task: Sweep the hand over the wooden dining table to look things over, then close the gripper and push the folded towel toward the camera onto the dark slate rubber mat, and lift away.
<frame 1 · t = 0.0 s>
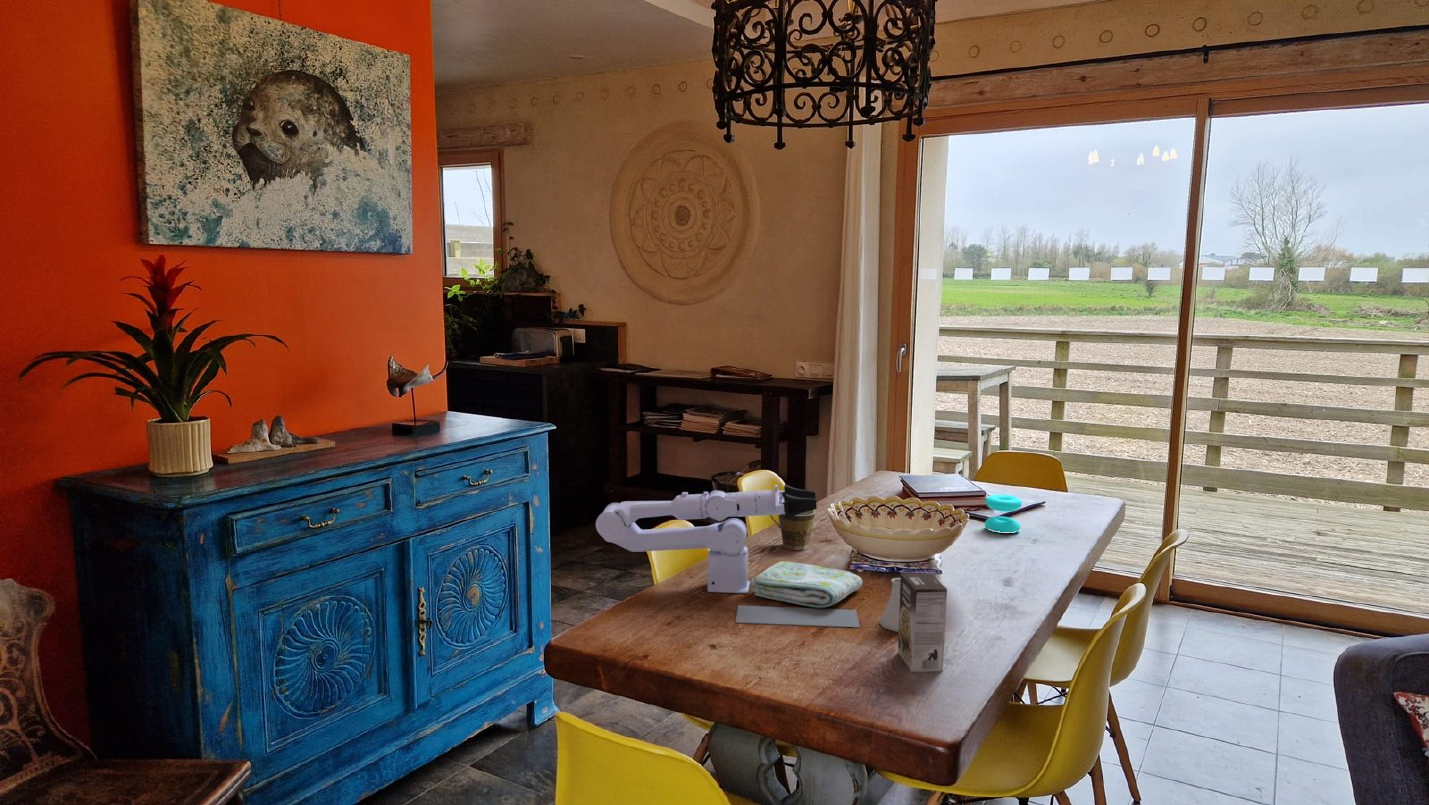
hand: (815, 500, 208), 22 cm above the table, tool horizontal, fingers open, 7 cm apart
donuts: (1002, 531, 265), on the table
towel: (805, 594, 209), on the table, touching slate mat
ceramic cup: (790, 546, 247), on the table
flask: (897, 627, 190), on the table
slate mat: (797, 616, 194), on the table
coffee box: (919, 663, 172), on the table
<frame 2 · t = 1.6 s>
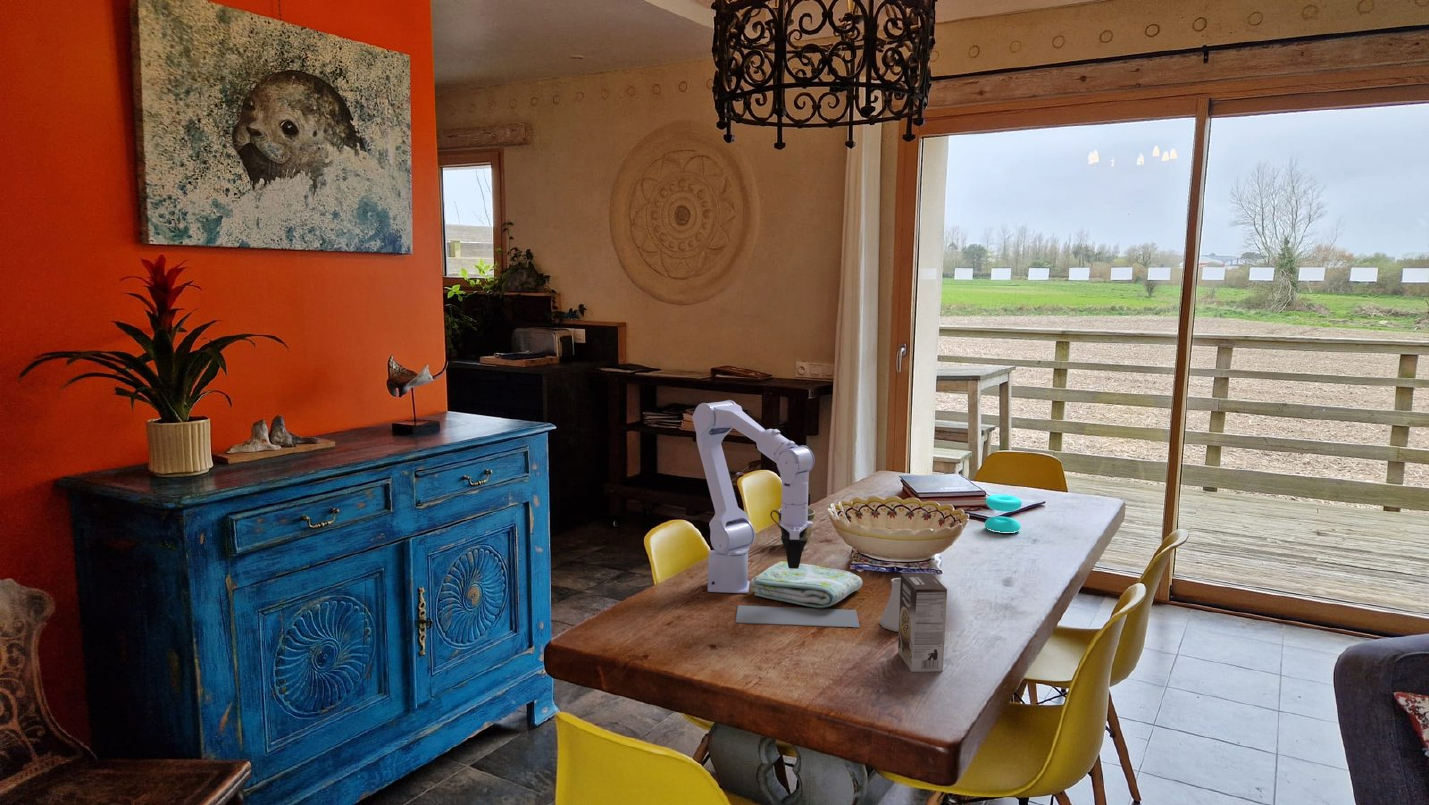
hand: (793, 562, 198), 10 cm above the table, tool pointing down, fingers open, 7 cm apart
nothing on the table moved.
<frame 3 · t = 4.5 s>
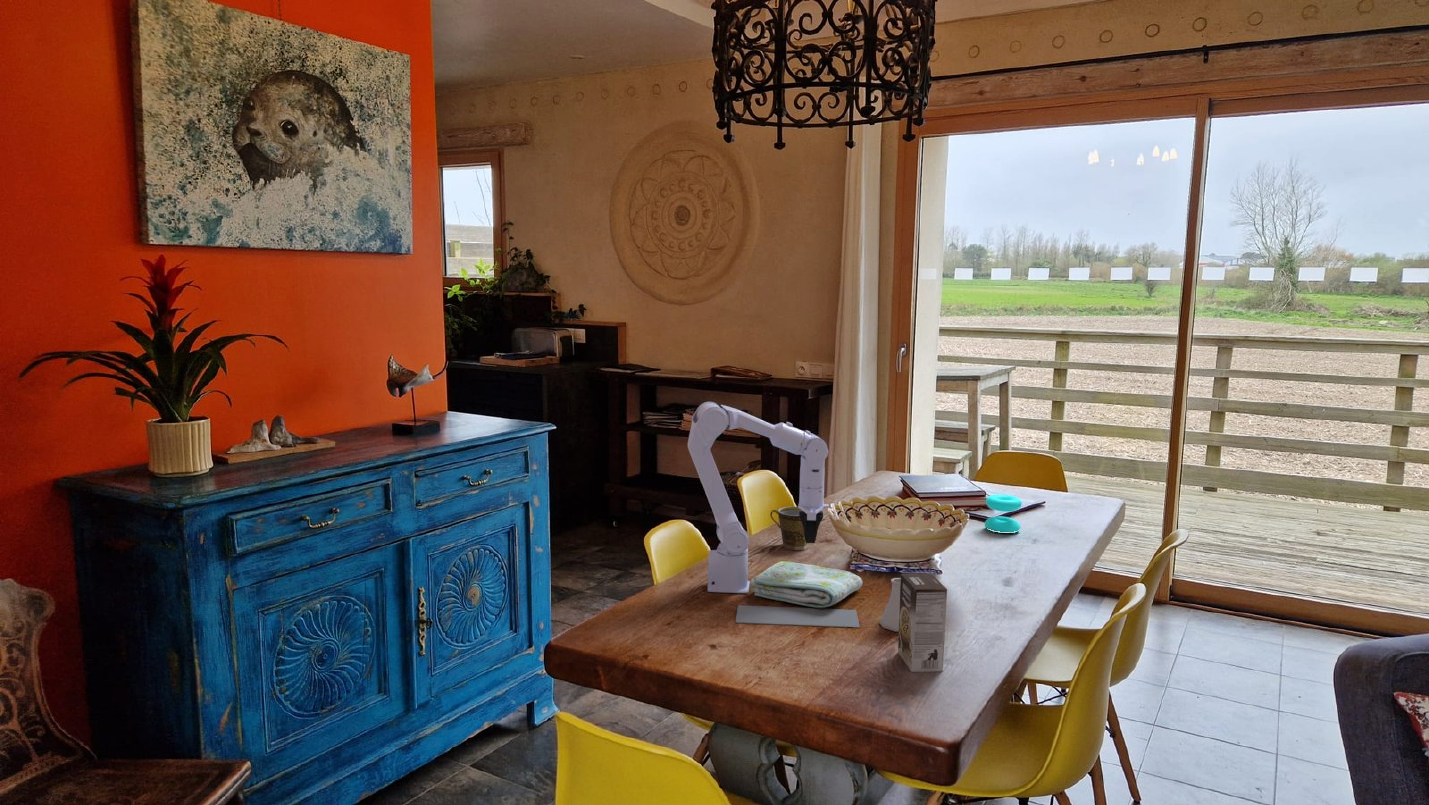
hand: (810, 542, 214), 10 cm above the table, tool pointing down, fingers closed
nothing on the table moved.
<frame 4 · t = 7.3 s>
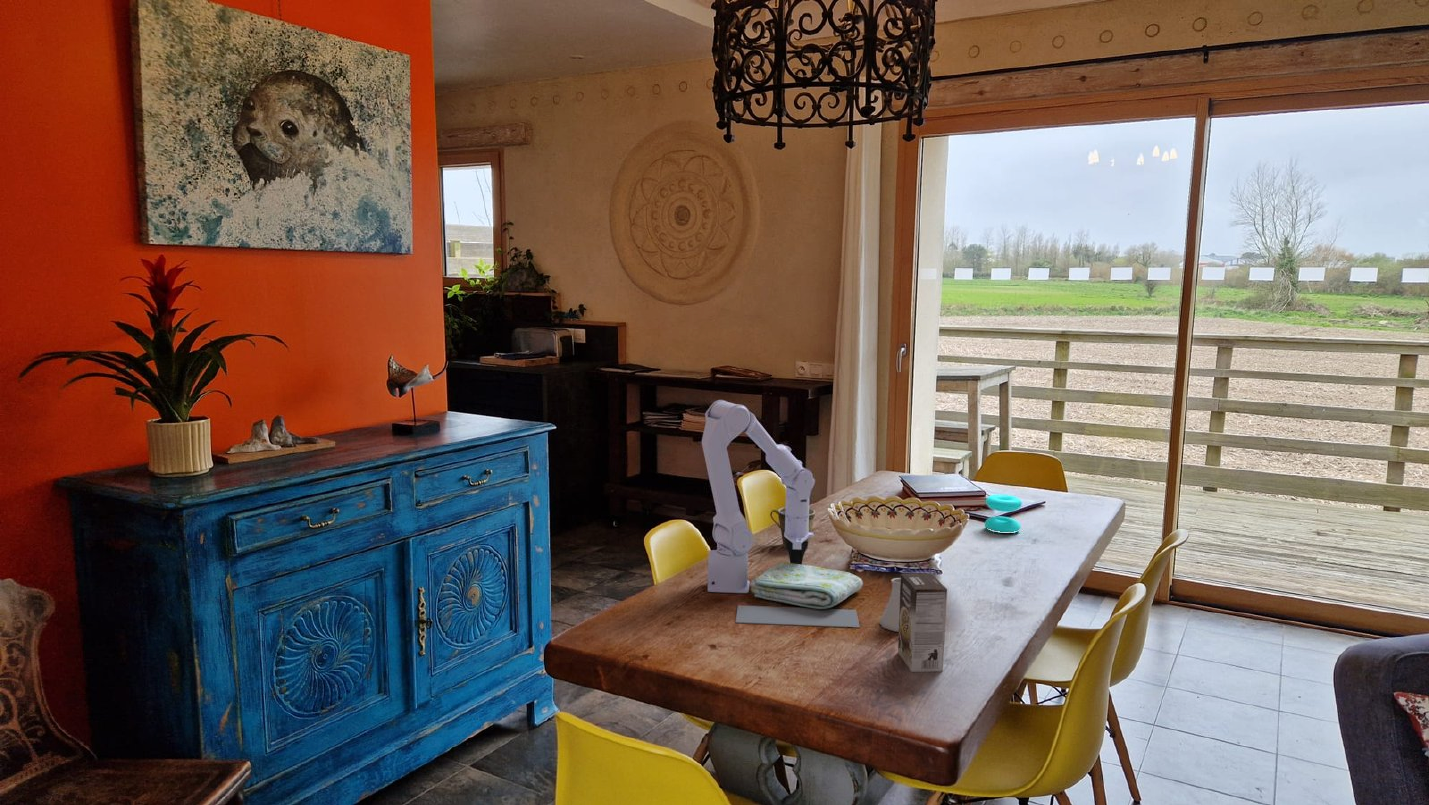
hand: (795, 569, 220), 2 cm above the table, tool pointing down, fingers closed
towel: (806, 595, 208), on the table, touching gripper
everything else where it was.
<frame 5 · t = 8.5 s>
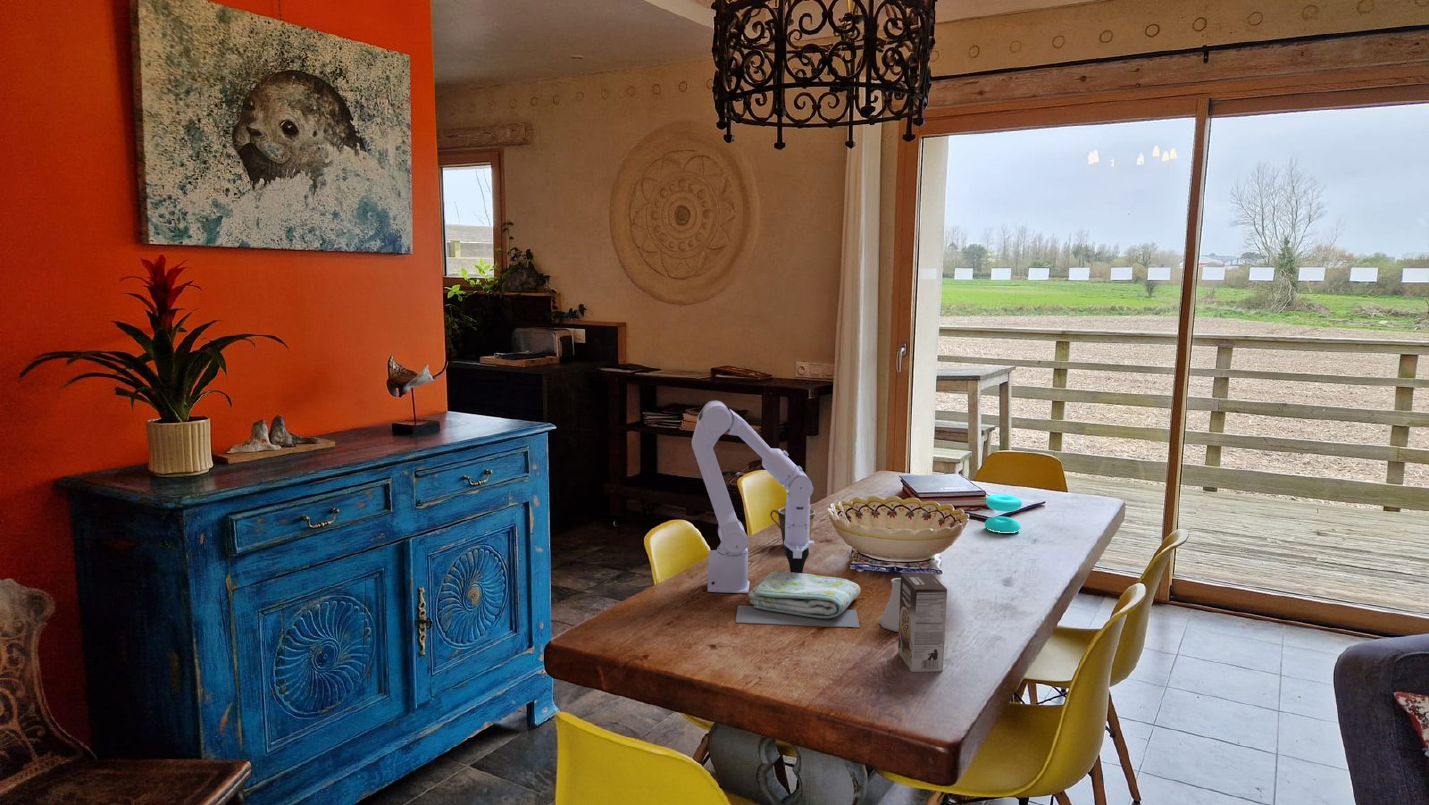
hand: (796, 579, 213), 2 cm above the table, tool pointing down, fingers closed
towel: (804, 604, 202), on the table, touching gripper, slate mat
everything else where it was.
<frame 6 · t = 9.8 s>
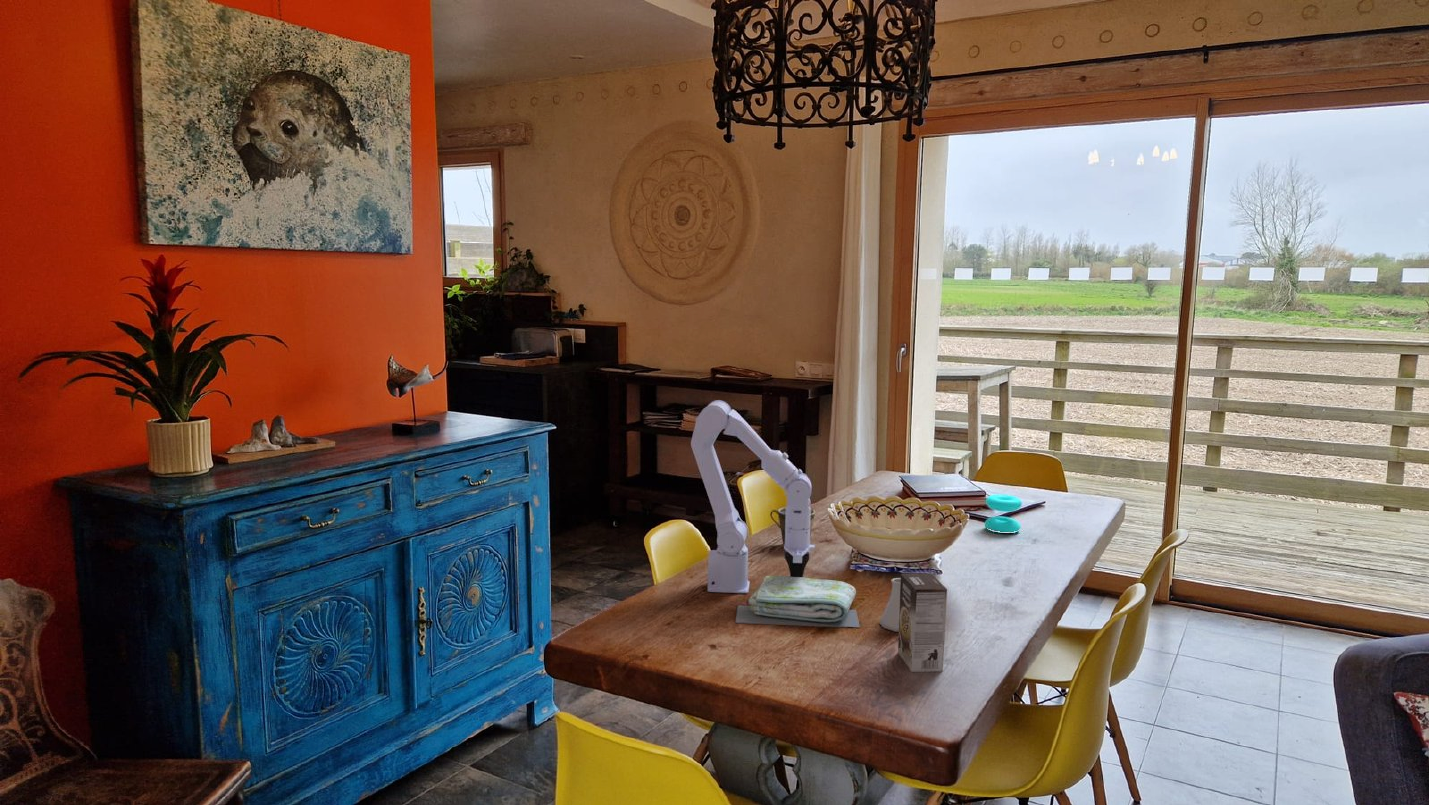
hand: (796, 583, 210), 2 cm above the table, tool pointing down, fingers closed
towel: (803, 608, 199), on the table, touching slate mat
everything else where it was.
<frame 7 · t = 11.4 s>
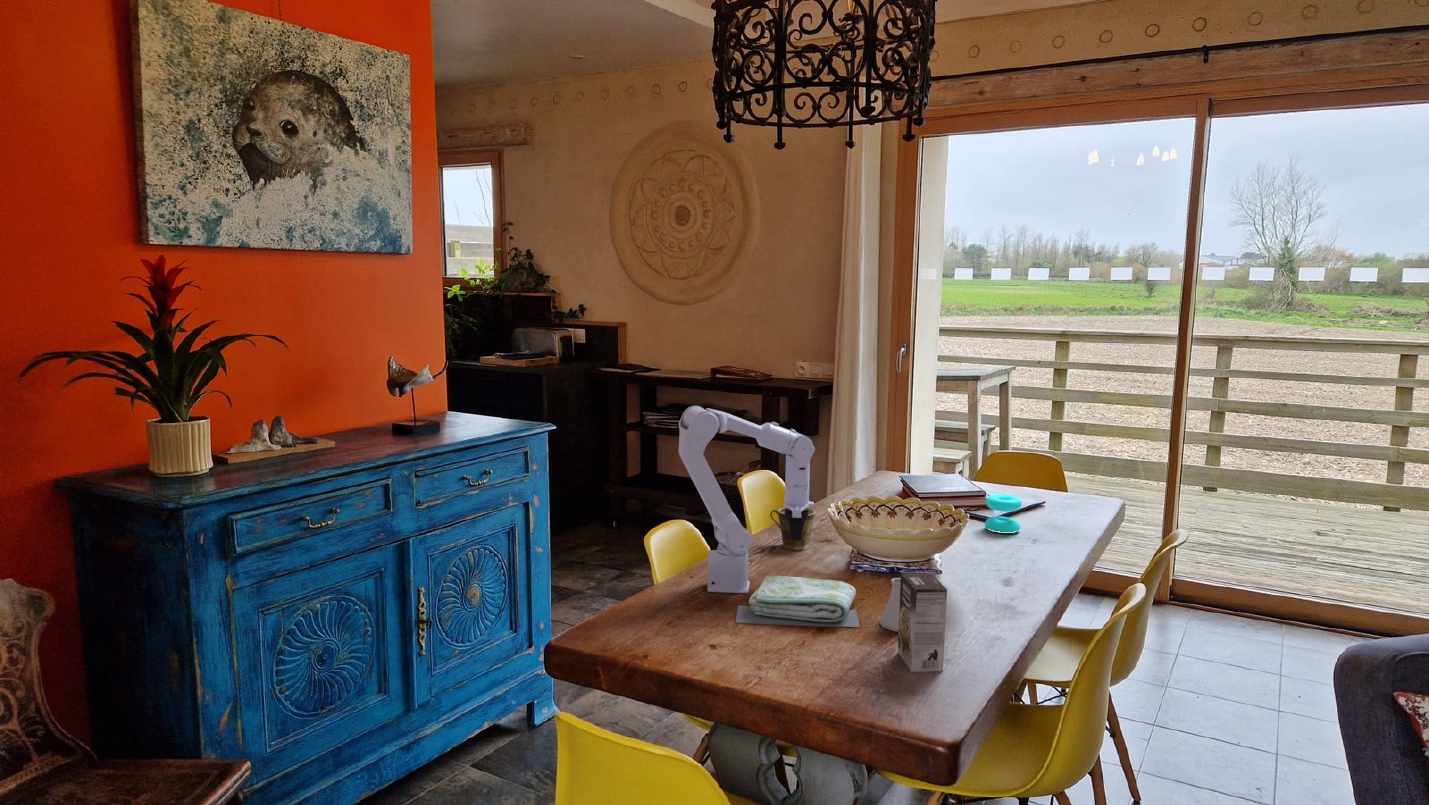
hand: (795, 539, 216), 10 cm above the table, tool pointing down, fingers closed
nothing on the table moved.
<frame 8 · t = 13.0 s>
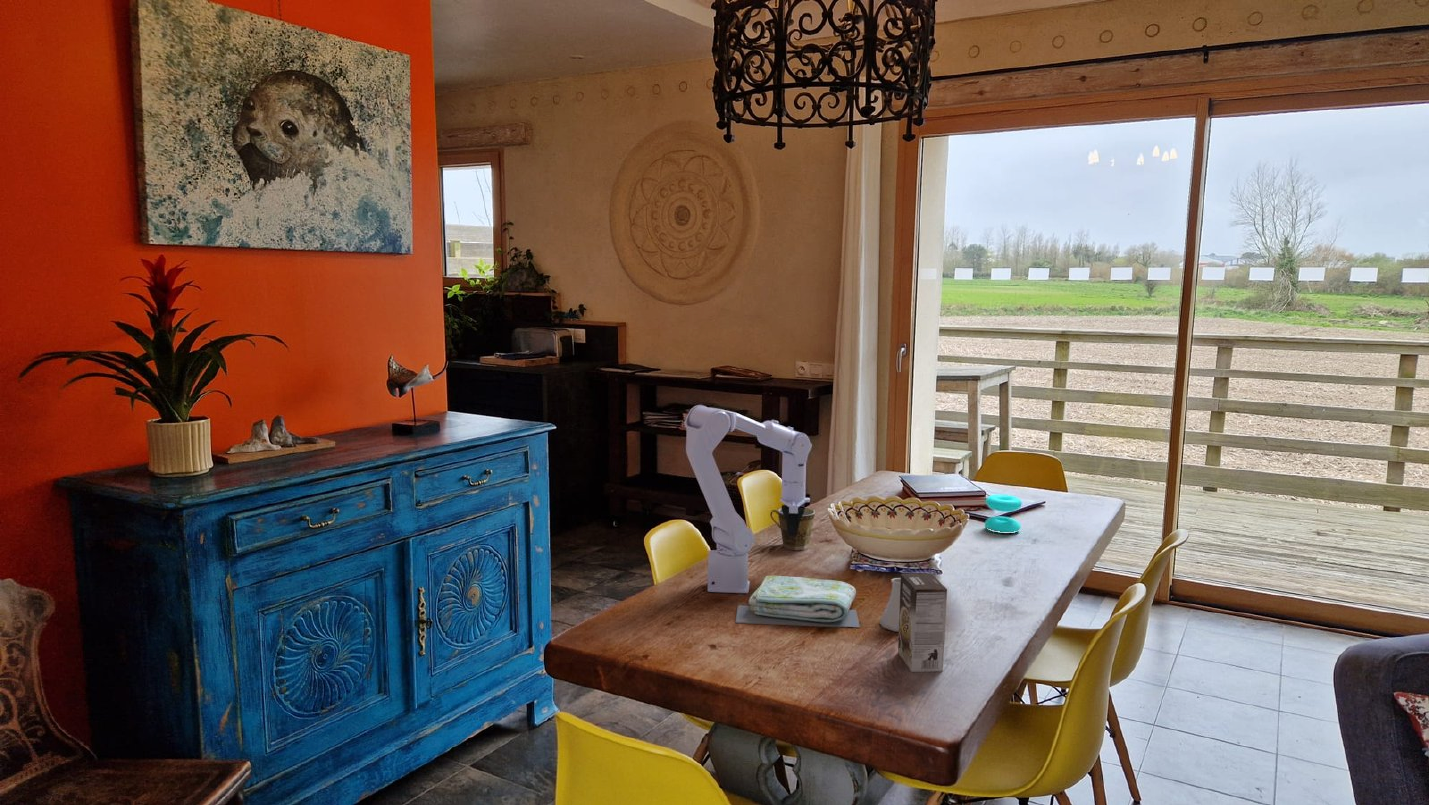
hand: (792, 535, 220), 10 cm above the table, tool pointing down, fingers closed
nothing on the table moved.
at the end: towel inside the target area (1.7 cm from its centre), on the table; towel moved 9.7 cm from its start; the gripper is holding nothing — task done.
